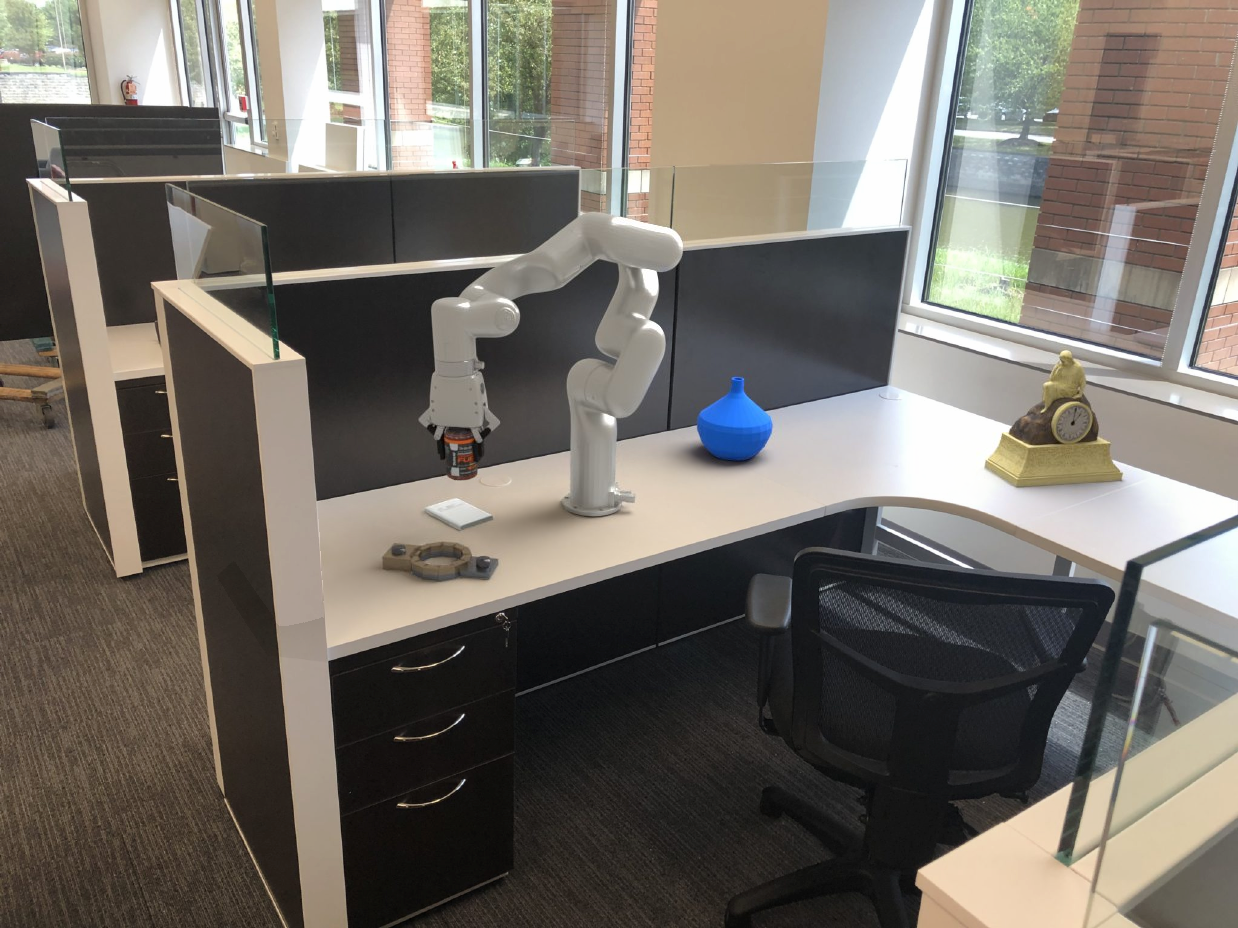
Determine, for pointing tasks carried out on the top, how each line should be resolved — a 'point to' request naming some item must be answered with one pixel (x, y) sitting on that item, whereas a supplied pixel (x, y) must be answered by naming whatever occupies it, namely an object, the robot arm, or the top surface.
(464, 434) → the supplement bottle
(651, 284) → the robot arm
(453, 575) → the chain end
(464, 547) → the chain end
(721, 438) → the vase
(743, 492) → the top surface
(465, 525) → the external hard drive
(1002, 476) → the decorative clock
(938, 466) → the top surface
